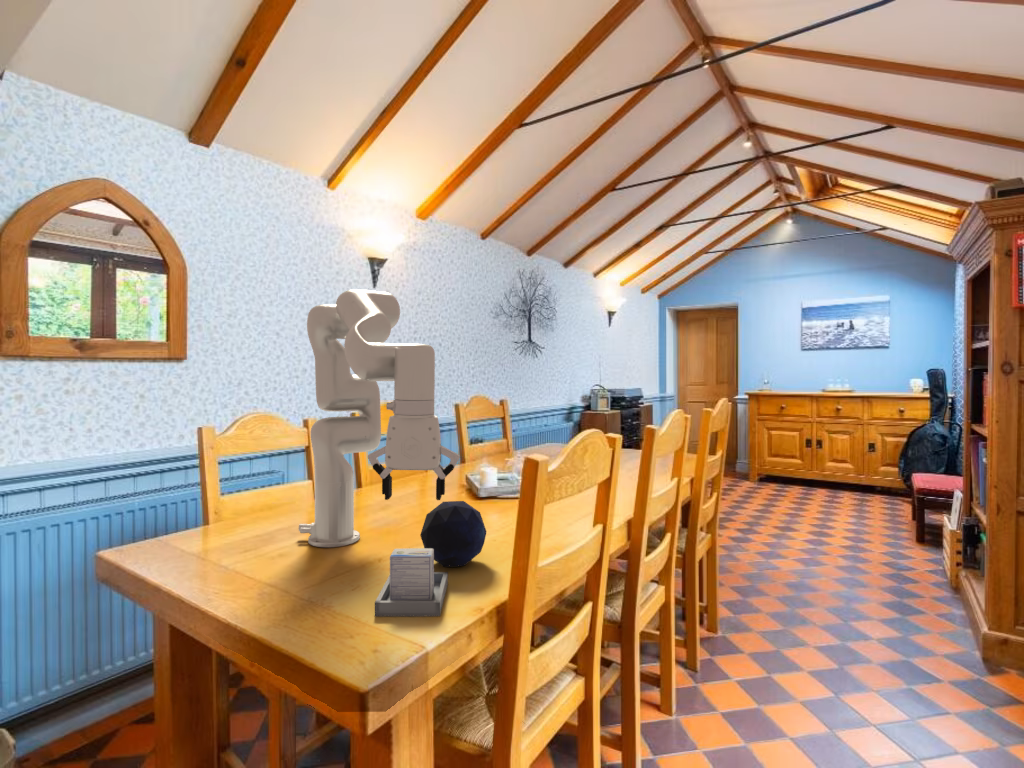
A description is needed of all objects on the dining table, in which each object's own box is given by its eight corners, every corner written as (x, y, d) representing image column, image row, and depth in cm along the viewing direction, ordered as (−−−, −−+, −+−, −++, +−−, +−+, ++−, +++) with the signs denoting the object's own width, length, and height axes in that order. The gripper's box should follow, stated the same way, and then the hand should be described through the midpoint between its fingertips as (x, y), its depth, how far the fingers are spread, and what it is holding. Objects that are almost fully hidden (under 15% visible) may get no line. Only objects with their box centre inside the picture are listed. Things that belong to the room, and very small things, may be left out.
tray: (374, 616, 97) (374, 602, 97) (391, 584, 112) (391, 572, 112) (439, 616, 98) (439, 602, 97) (447, 584, 112) (447, 572, 112)
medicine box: (434, 591, 107) (434, 547, 107) (431, 601, 102) (431, 555, 102) (393, 591, 106) (393, 547, 106) (389, 601, 102) (389, 555, 102)
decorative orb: (469, 525, 136) (439, 482, 130) (509, 539, 125) (478, 493, 118) (431, 570, 129) (396, 527, 122) (469, 589, 118) (434, 543, 111)
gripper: (363, 410, 100) (363, 502, 100) (458, 411, 100) (457, 503, 101) (373, 407, 107) (372, 493, 108) (461, 408, 108) (460, 494, 108)
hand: (413, 498), depth 104 cm, fingers open, 9 cm apart
